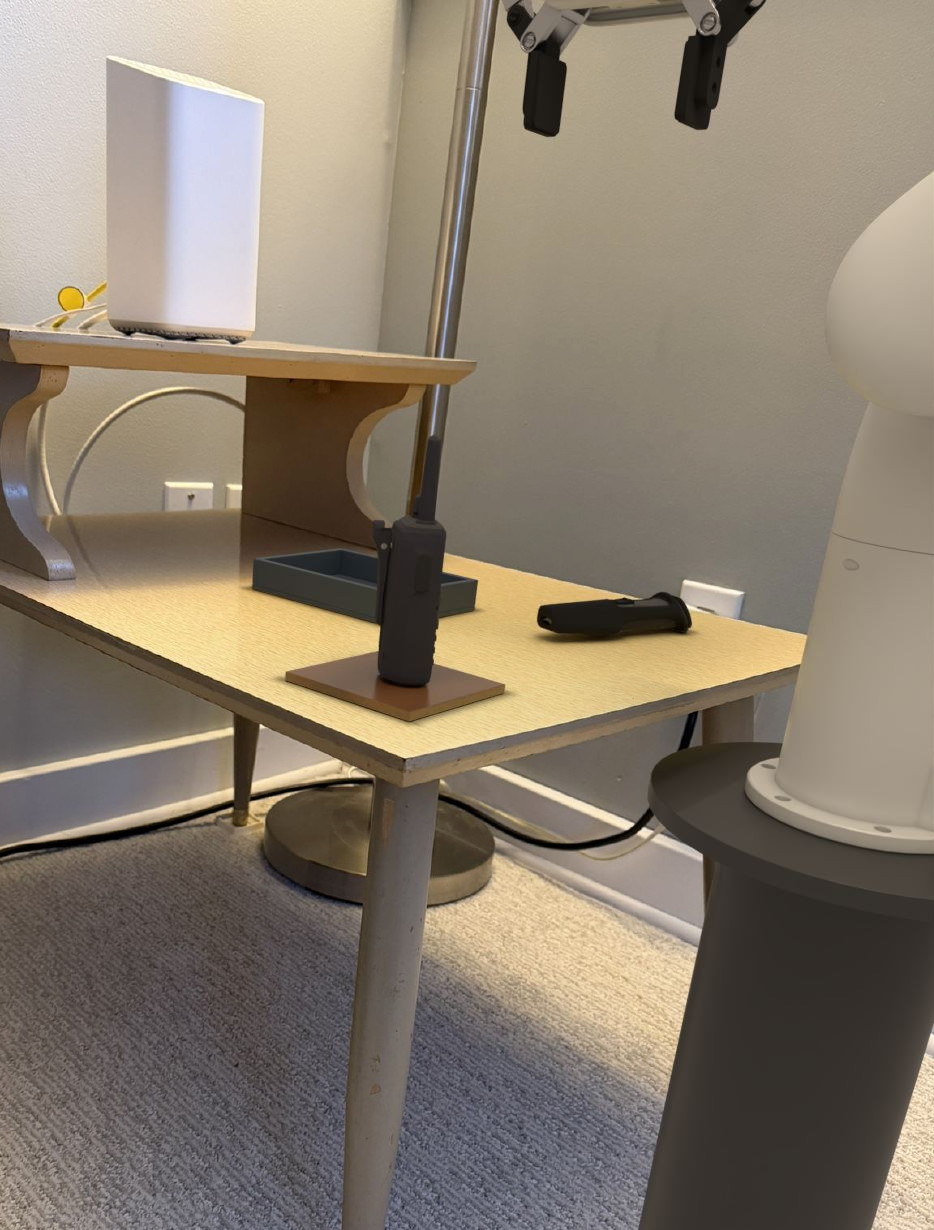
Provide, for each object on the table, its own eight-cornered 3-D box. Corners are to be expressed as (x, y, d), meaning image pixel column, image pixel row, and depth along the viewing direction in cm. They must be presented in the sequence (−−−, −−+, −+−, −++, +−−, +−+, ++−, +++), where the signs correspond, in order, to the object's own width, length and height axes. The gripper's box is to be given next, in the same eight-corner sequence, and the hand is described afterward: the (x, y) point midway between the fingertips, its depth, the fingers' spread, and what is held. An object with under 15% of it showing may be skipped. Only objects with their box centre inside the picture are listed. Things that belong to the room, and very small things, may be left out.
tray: (474, 610, 97) (478, 579, 96) (391, 627, 89) (394, 593, 88) (338, 576, 106) (341, 547, 105) (251, 588, 98) (253, 558, 97)
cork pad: (504, 693, 75) (505, 684, 74) (408, 721, 67) (409, 712, 67) (384, 657, 81) (385, 649, 80) (284, 680, 73) (285, 671, 73)
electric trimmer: (521, 637, 90) (526, 597, 89) (660, 622, 99) (666, 585, 97) (553, 649, 88) (559, 608, 86) (694, 633, 96) (701, 595, 95)
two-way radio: (435, 691, 71) (463, 439, 66) (363, 687, 71) (386, 433, 66) (423, 667, 77) (448, 431, 71) (356, 663, 76) (376, 425, 71)
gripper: (851, -244, 59) (782, 135, 65) (555, -178, 69) (519, 146, 75) (800, -313, 54) (730, 108, 60) (486, -230, 64) (453, 124, 70)
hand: (612, 129), depth 67 cm, fingers open, 9 cm apart
